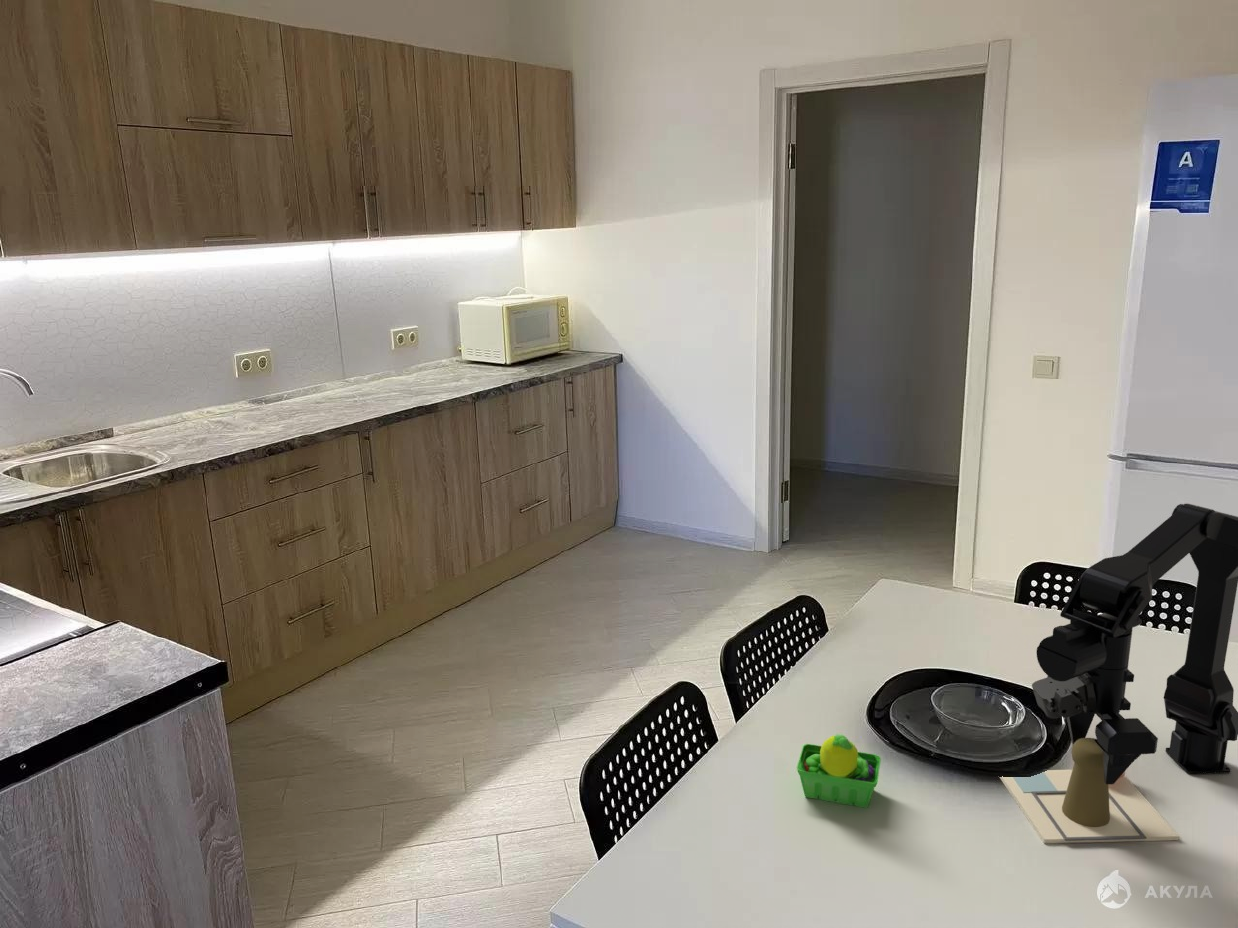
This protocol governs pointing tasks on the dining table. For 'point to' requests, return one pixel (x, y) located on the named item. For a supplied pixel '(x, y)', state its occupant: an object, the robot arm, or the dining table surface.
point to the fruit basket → (838, 772)
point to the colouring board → (1045, 814)
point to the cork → (1087, 786)
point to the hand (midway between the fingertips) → (1092, 763)
